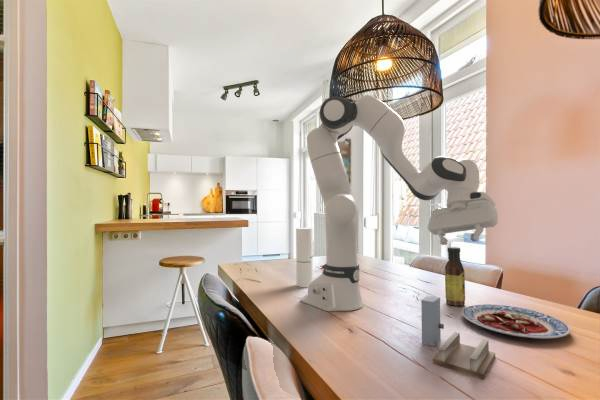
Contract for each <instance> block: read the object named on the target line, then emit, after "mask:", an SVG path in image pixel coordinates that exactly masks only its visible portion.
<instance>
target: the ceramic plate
mask: <svg viewBox="0 0 600 400" xmlns="http://www.w3.org/2000/svg"><path fill="white" fill-rule="evenodd" d="M461 314H462V316H463V317H464V318H465V320H467V321H469V322H470V323H472V324H474V325H476V326H479V327H481V328H484V329H487V330H489V331H493V332H496V333H500V334H502V335H507V336H512V337H519V338H525V339H526V338H529V339H542V340H543V339H545V340H546V339H557V338H562V337H566V336H568V335H570V333H571V328H570V326H569V325H568V324H567V323H565V322H564V321H562V320H560V319H558V318H556V317H554V316H552V315H549V314H546V313H542V312H539V311H536V310H531V309H527V308H522V307H518V306H511V305H506V304H505V305H502V304H489V303H488V304H475V305H469V306H466V307H464V308H463V309H462V310H461Z"/></svg>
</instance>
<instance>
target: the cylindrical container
mask: <svg viewBox="0 0 600 400" xmlns="http://www.w3.org/2000/svg"><path fill="white" fill-rule="evenodd" d="M313 237H314V236H313V227H296V228H295V242H296V243H295V245H296V247H295V249H296V250H295V251H296V253H295V255H296V261H295V262H296V265H295V266H296V267H295V268H296V270H295V271H296V287H297V286H300V287H309V285H310V283H311V282H312V281H314V273H313V272H314V268H313V267H314V263H313V262H314V258H313V256H314V254H313V251H314V250H313V242H314V241H313ZM300 287H299V288H300Z"/></svg>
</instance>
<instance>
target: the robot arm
mask: <svg viewBox="0 0 600 400" xmlns="http://www.w3.org/2000/svg"><path fill="white" fill-rule="evenodd" d="M319 119H320V122H321V124H320V125H319V126H318V127H316V128H314V129H312V130H310V131H309V132H308V133H307V137H306V147H307V152H308V156H309V160H310V164H311V168H312V170H313V171H312V172H313V175H314V176H315V180H316V183H317V186H318V189H319V191H320V195H321V198H322V201H323V204H324V207H325V208H324V218H325V221H324V222H325V240H326V241H325V242H326V243H325V244H326V252H325V253H326V259H325V261H326V263H324V264H323V265H320V266H319V267H320V268H319V269H320V270H322V273H321V275H319V276H318V277H316V278H315V279H313V281H312V282H311V283H310V285H309V287H308V288H307V294H304V295H303V296H302V297H301V302H302V303H306V304H308V305H310V306H313V307H315V308H318V309H320V310H323V311H325V312H335V311H340V312H341V311H342V312H344V311H348V312H349V311H353V310H354V311H355V310H358V309H361V308H362V307H363V306H364V303H363V300H362V295H361V289H360V264H359V261H358V260H359V252H358V251H359V249H358V248H359V246H358V244H359V242H358V241H359V236H358V235H359V207H358V204H357V202H356V200H355V198H354V195H353V192H352V188H351V183H350V181H349V177H348V172H347V169H346V166H345V164H344V160H343V157H342V154H341V152H340V150H341V149H340V147H339V143H338V140H340V139H341V138H343V137H344V136H345V135H347V134H348V133H350V131H351V130H352V128H353V126H354V127H358V128H360V129H362V130H363V131H365V132H366V133H367V134H368V135H369V136H370V137H371V138H372V139H373V140H374V141H375V143H376V144H377V146H378V147H379V151H380V154H381V155H382V157H383V158H384V160H385V161H386V162H387V164H389V166H391V168H392V169H393V171H395V172H396V173H397V174H398V176H399V177H400V178H401V179H402V180H403V182H405V184H406V185H407V186H408V189H409V191H410V192H411V193H412V195H413V196H414V197H416V198H417V199H419V200H422V201H431V200H433V199H434V198H436V197H437V196H438V195H439V194H440V192H442V191H444V190H446V191H447V198H446V204H445V205H446V206H444V207H441V208H440V207H438V208H436V209H435V210H434V211H432V212H431V213H430V214H431V215H430V217H429V220H428V224H427V230H428V232H430V233H431V234H432V235H434V236H438V237H439V243H440V245H441V246H445V245H446V246H447V245H448V239H447V238H446V234H450V233H451V234H452V233H457V232H459V233H460V232H465V231H466V232H467V231H472V230H474V232H473V233H470V237H469V238H470V241H472V242H479V240H480V239H479V238H480V236H481V235H482V233H483V232H484V229H486V228H494V227H495V226H497V224H498V222H499V219H498V218H499V217H498V216H499V215H498V211H497V209H496V208H495V207H496V202H495V201H494V200H493V198H491V197H490V195H488V194H487V192H484V191H478V189H479V188H480V170H479V168H478V164H477V163H476V162H475V161H473V160H471V159H468V158H459V159H454V158H451V157H448V156H445V155H440V156H439V155H438V156H435V157H434V158H433V159H432V160H430V162H428V163H427V164H426V165H425V166H424V167H423V168H422V169H421V170H419V169H417V168H416V166H414V165H413V163H412V162H411V161H410V160H409V159H408V158H407V157H406V155H405V154H404V152H403V140H404V136H405V133H406V132H405V131H406V130H405V129H406V128H405V127H406V126H405V122H404V120H403V119H402V117H401V116H400V115H399V114H398V113H397V112H396V111H394V110H393V108H391V107H389V106H388V105H387V104H386V103H385V102H383V101H381V100H379V99H378V98H377V97H374V96H373V95H370V94H365V95H362V96H361V97H359V98H358V99H357V100H356V101H355V100H354V99H352V98H345V97H342V96H330V97H328V98H326V99H325V100H324V101H323V102H322V104H321V106H320V108H319Z"/></svg>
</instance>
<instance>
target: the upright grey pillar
mask: <svg viewBox="0 0 600 400" xmlns="http://www.w3.org/2000/svg"><path fill="white" fill-rule="evenodd" d="M444 328H445V324H444V323H442V322H441V297H439V296H433V295H429V294H428V295H427V296H425V297H424V298H422V299H421V344H424V345H427V346H431V347H435V346H436V345H438V343H439V342H440V341H441V340H442V339H441V335H442V334H441V329H442V330H443V329H444Z"/></svg>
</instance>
